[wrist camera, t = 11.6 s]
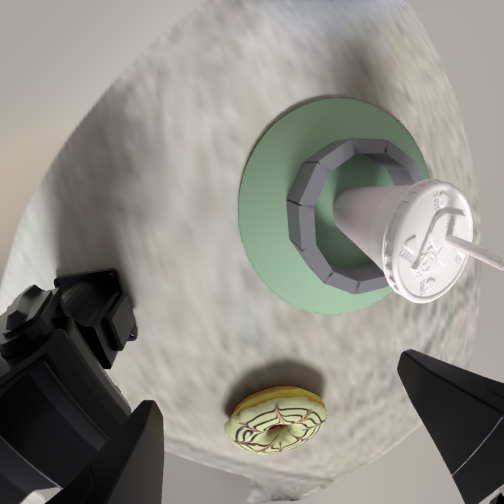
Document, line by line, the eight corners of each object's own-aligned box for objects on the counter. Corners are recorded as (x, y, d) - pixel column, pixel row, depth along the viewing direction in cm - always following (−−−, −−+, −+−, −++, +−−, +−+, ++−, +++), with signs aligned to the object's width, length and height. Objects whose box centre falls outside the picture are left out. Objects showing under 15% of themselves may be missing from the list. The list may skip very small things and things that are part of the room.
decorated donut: (207, 421, 26) (207, 447, 22) (267, 364, 24) (275, 392, 21) (276, 442, 29) (282, 464, 25) (335, 394, 27) (347, 417, 23)
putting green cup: (252, 329, 22) (258, 354, 19) (224, 101, 17) (226, 88, 14) (422, 289, 24) (442, 303, 21) (423, 109, 19) (448, 106, 15)
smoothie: (397, 215, 21) (535, 272, 8) (345, 266, 21) (466, 372, 8) (358, 154, 19) (521, 162, 6) (299, 207, 19) (441, 285, 6)
